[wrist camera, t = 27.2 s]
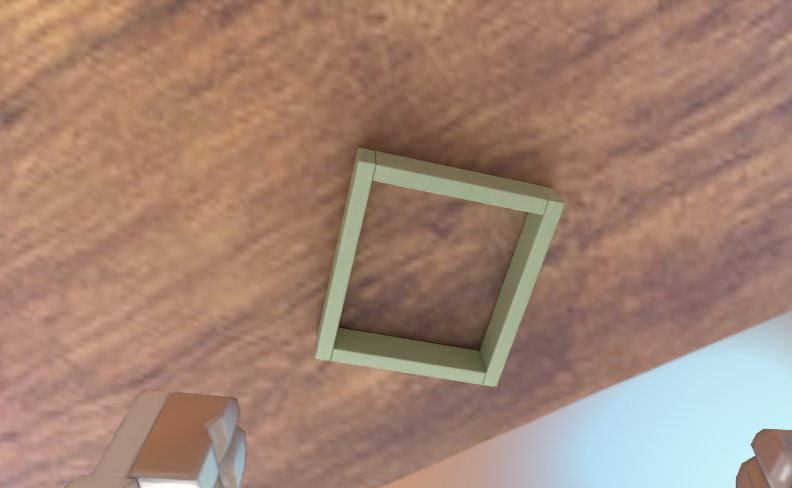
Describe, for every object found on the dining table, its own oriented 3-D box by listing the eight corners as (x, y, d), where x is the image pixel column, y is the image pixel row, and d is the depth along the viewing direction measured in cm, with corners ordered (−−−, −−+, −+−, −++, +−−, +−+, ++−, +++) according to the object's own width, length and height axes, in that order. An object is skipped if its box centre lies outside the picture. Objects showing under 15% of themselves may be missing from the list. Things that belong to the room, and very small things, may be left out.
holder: (553, 187, 30) (565, 203, 29) (489, 364, 35) (496, 387, 33) (358, 146, 29) (358, 160, 27) (316, 336, 33) (314, 359, 31)
